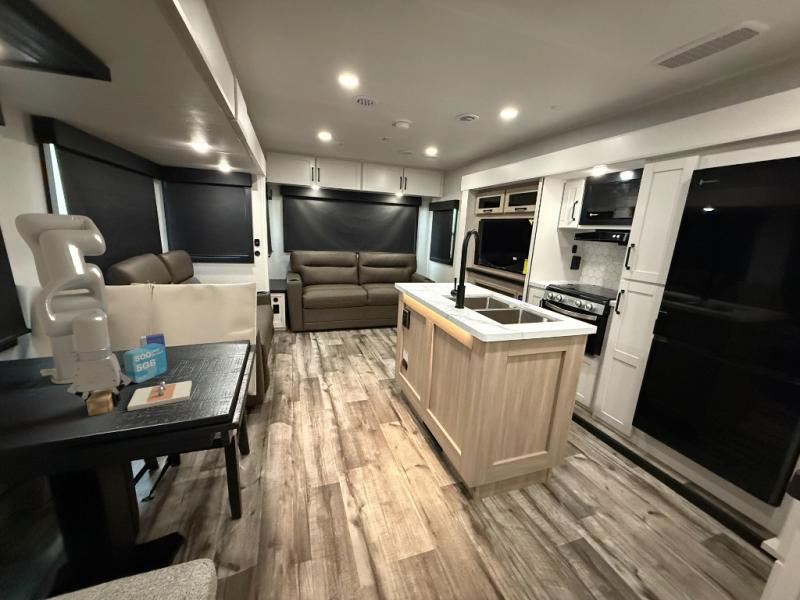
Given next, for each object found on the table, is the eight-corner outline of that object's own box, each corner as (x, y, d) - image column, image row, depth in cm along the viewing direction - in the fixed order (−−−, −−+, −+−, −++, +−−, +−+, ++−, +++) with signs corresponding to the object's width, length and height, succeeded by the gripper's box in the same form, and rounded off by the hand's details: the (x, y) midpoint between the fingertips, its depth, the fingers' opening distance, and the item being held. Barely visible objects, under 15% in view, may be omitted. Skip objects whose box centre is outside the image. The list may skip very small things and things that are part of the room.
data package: (136, 384, 112) (131, 354, 109) (126, 382, 113) (122, 352, 110) (167, 371, 123) (164, 343, 121) (159, 369, 124) (155, 341, 122)
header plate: (128, 411, 97) (127, 406, 96) (137, 393, 107) (136, 389, 106) (188, 399, 105) (188, 395, 104) (191, 384, 115) (191, 380, 114)
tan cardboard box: (88, 416, 93) (86, 401, 92) (98, 401, 101) (96, 387, 100) (110, 412, 96) (108, 397, 95) (118, 398, 103) (116, 384, 102)
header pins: (158, 396, 103) (157, 388, 102) (160, 389, 107) (159, 381, 107) (163, 395, 103) (162, 387, 103) (165, 388, 108) (164, 380, 107)
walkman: (166, 358, 134) (163, 332, 132) (166, 360, 132) (163, 334, 130) (143, 362, 129) (139, 335, 127) (143, 364, 127) (139, 337, 125)
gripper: (49, 362, 87) (61, 418, 91) (128, 353, 95) (136, 405, 99) (61, 353, 93) (72, 406, 97) (133, 345, 102) (141, 394, 106)
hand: (104, 405), depth 98 cm, fingers open, 5 cm apart
